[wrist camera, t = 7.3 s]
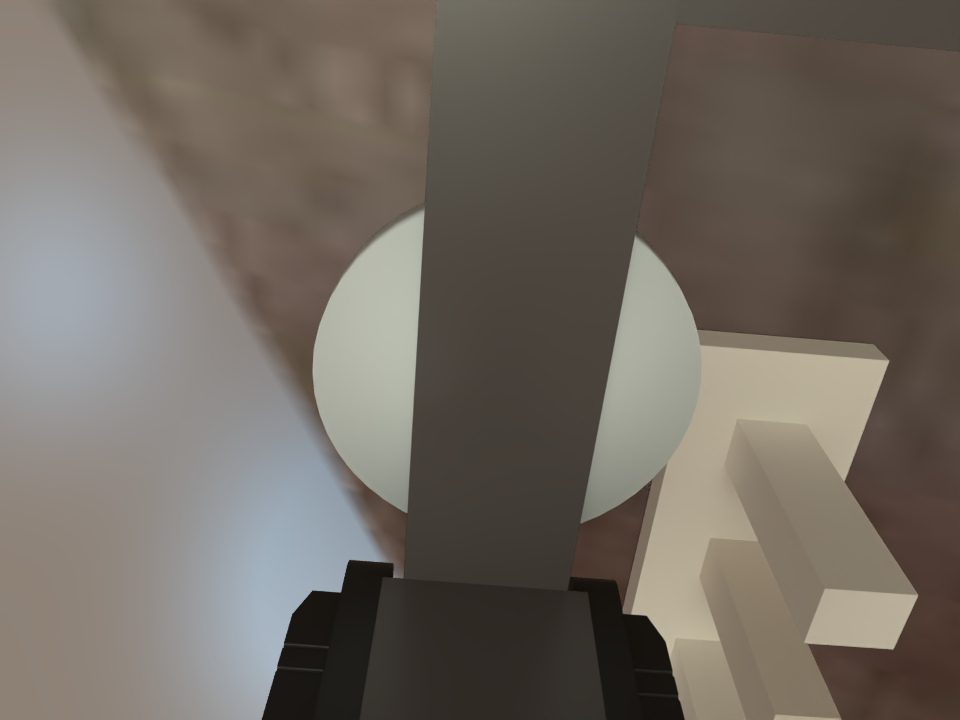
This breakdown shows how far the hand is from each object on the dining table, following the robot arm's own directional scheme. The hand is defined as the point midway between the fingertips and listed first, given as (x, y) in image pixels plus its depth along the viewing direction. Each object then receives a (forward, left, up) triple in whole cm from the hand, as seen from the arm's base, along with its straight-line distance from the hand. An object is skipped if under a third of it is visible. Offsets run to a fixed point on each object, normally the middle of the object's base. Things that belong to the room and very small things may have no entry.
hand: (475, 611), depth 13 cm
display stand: (+15, +13, -21) cm, 29 cm away
